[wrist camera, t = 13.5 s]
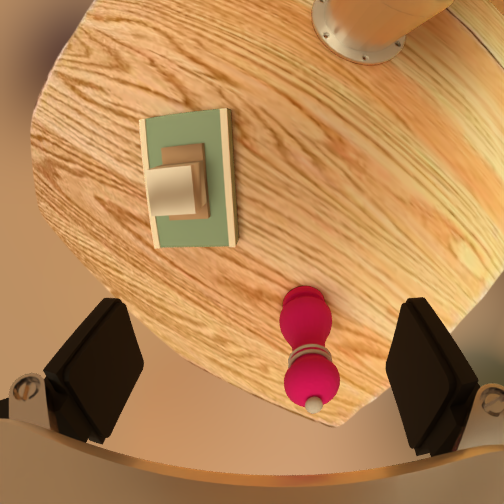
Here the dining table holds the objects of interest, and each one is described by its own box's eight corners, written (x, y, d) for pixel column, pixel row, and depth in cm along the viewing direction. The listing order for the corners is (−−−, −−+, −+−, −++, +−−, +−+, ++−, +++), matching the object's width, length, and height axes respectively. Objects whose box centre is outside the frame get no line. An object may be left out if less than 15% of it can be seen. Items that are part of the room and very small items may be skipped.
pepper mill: (327, 280, 42) (355, 384, 24) (327, 321, 45) (346, 427, 26) (277, 284, 43) (274, 391, 24) (281, 324, 46) (278, 432, 27)
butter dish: (164, 147, 34) (143, 151, 28) (204, 142, 33) (189, 145, 27) (172, 217, 37) (154, 234, 31) (210, 215, 37) (197, 232, 31)
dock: (149, 120, 35) (138, 119, 32) (230, 110, 34) (226, 107, 31) (163, 239, 42) (154, 248, 39) (238, 237, 41) (235, 247, 38)
